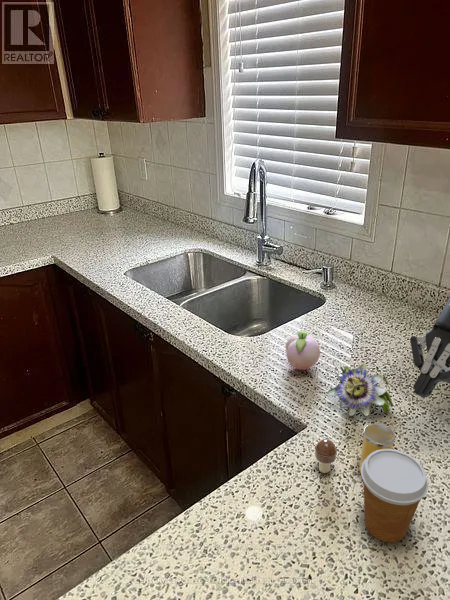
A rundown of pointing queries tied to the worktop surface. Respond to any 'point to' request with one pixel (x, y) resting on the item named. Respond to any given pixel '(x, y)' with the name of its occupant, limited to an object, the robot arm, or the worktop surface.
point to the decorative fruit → (302, 351)
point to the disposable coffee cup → (391, 492)
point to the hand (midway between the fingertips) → (418, 395)
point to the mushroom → (325, 454)
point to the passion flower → (360, 390)
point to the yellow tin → (376, 440)
